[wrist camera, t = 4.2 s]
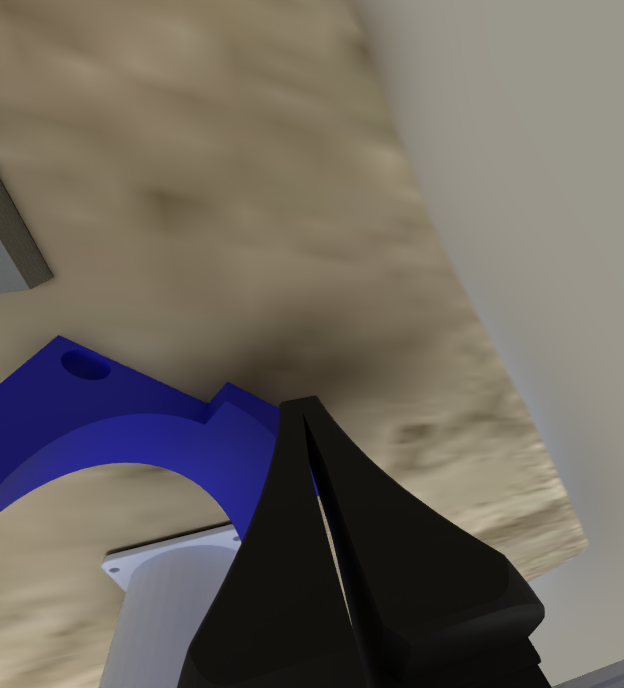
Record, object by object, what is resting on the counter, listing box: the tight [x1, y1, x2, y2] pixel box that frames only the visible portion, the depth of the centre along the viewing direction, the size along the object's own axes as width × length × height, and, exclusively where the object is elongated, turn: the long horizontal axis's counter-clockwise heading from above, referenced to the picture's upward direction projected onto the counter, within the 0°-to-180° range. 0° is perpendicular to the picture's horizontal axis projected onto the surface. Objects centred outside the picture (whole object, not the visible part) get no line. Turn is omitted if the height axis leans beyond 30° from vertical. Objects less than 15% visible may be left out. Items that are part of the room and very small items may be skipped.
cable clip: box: [0, 335, 319, 543], centre depth 11 cm, size 12×4×6 cm, turn 48°
